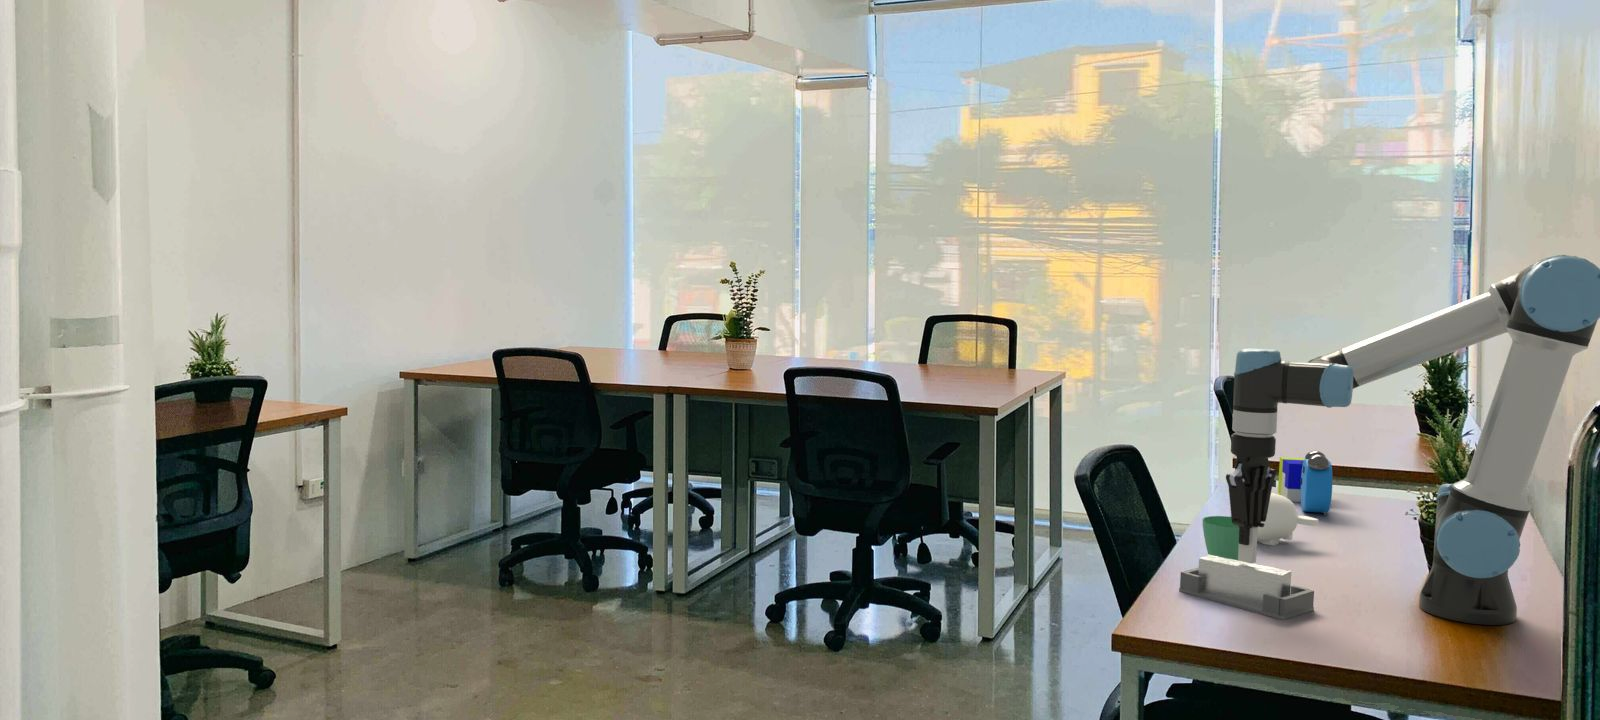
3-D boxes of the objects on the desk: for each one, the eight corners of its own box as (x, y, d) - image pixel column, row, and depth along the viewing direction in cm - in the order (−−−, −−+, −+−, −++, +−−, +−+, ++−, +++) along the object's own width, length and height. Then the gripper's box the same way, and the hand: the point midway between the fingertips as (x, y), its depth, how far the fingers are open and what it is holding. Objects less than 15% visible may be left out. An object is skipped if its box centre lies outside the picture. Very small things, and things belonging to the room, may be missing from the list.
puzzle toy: (1287, 501, 302) (1289, 463, 302) (1277, 493, 312) (1279, 457, 311) (1327, 503, 301) (1329, 465, 300) (1317, 495, 311) (1319, 458, 310)
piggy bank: (1244, 553, 253) (1309, 558, 255) (1258, 506, 249) (1324, 511, 250) (1221, 524, 265) (1283, 528, 266) (1234, 479, 260) (1297, 484, 262)
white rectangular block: (1289, 603, 209) (1291, 571, 208) (1280, 608, 206) (1282, 575, 205) (1207, 585, 220) (1208, 554, 219) (1197, 589, 217) (1199, 558, 216)
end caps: (1313, 610, 207) (1314, 590, 207) (1283, 620, 201) (1284, 599, 201) (1209, 582, 224) (1210, 564, 224) (1178, 590, 218) (1179, 572, 218)
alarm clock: (1330, 518, 282) (1334, 458, 281) (1303, 516, 284) (1306, 456, 283) (1324, 508, 295) (1328, 449, 293) (1298, 505, 297) (1301, 448, 295)
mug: (1248, 579, 227) (1251, 529, 226) (1196, 572, 231) (1198, 523, 230) (1257, 562, 239) (1260, 515, 238) (1208, 556, 244) (1210, 509, 243)
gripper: (1254, 428, 217) (1248, 552, 219) (1214, 433, 209) (1207, 562, 211) (1292, 433, 211) (1285, 560, 213) (1252, 439, 203) (1245, 571, 205)
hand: (1246, 561), depth 212 cm, fingers closed
